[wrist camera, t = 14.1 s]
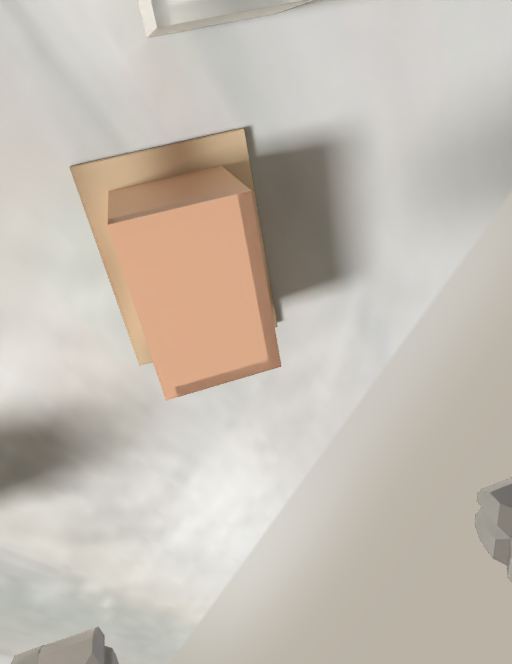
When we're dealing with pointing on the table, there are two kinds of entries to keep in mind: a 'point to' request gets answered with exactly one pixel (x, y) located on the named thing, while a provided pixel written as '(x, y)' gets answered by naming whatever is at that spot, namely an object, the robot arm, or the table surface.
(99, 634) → the robot arm
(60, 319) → the table surface
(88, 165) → the cork pad
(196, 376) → the pink paneled box
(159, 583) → the table surface
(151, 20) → the off-white bevelled cube
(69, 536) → the table surface
